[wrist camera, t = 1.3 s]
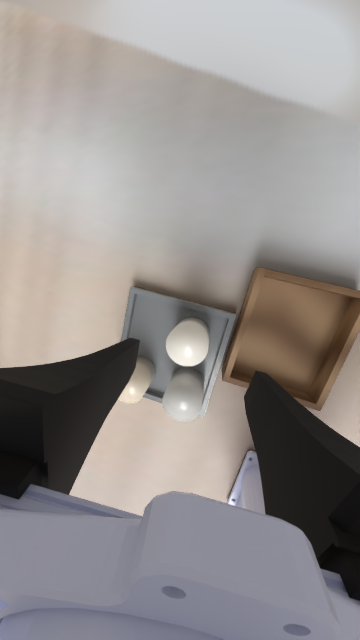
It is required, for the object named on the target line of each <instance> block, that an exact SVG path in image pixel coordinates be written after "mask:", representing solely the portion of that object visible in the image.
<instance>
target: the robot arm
mask: <svg viewBox="0 0 360 640" xmlns="http://www.w3.org/2000/svg"><path fill="white" fill-rule="evenodd" d="M139 344H140V340H138V339H134V338H128V339H126V340H124V341H121V342H119V343H117V344H115V345H112V346H110V347H108V348H105V349H103V350H100V351H97V352H95V353H92V354H89V355H86V356H82V357H79V358H75V359H71V360H66V361H61V362H56V363H50V364H44V365H36V366H27V367H13V368H0V640H360V447H358V446H357V445H355V444H354V443H352V442H351V441H349V440H348V439H346V438H345V437H343V436H342V435H340V434H339V433H337V432H336V431H334V430H333V429H332V428H330V427H329V426H328V425H326V424H325V423H324V422H322V421H321V420H320V419H318V418H317V417H316V416H314V415H313V414H312V413H311V412H310V411H308V410H307V409H306V408H305V407H304V406H303V405H301V404H300V403H299V402H298V401H297V400H296V399H295V398H293V397H292V396H291V395H290V394H289V393H288V392H287V391H286V390H285V389H284V388H283V387H282V386H280V385H279V384H278V383H277V382H276V381H275V380H274V379H273V378H272V377H270V376H269V375H268V374H267V373H264V372H260V371H255V373H254V376H253V378H252V380H251V383H250V385H249V387H248V389H247V392H246V394H245V396H244V400H245V409H246V415H247V419H248V423H249V427H250V431H251V434H252V438H253V442H254V446H255V450H256V452H255V451H251V450H250V451H248V452H247V454H246V457H245V459H244V462H243V464H242V467H241V469H240V472H239V474H238V477H237V479H236V482H235V484H234V487H233V489H232V491H231V494H230V496H229V499H228V501H227V503H223V502H220V501H216V500H213V499H209V498H206V497H202V496H199V495H195V494H192V493H184V492H175V491H172V492H168V493H164V494H161V495H157V496H156V497H154V498H153V499H152V500H151V502H150V503H149V504H148V505H147V506H146V507H145V510H144V514H143V517H142V516H139V515H136V514H132V513H129V512H125V511H122V510H118V509H115V508H112V507H108V506H105V505H101V504H98V503H95V502H91V501H88V500H84V499H81V498H77V497H74V496H71V495H69V493H70V491H71V489H72V486H73V484H74V482H75V480H76V478H77V476H78V473H79V471H80V469H81V467H82V465H83V463H84V461H85V459H86V457H87V455H88V453H89V450H90V448H91V446H92V444H93V442H94V440H95V438H96V436H97V434H98V432H99V430H100V428H101V427H102V425H103V423H104V421H105V419H106V417H107V415H108V414H109V412H110V410H111V409H112V407H113V406H114V404H115V403H116V401H117V399H118V398H119V396H120V395H121V393H122V392H123V390H124V389H125V387H126V385H127V384H128V382H129V380H130V378H131V376H132V374H133V372H134V370H135V368H136V362H137V356H138V350H139Z"/></svg>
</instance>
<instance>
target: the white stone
mask: <svg viewBox="0 0 360 640" xmlns="http://www.w3.org/2000/svg"><path fill="white" fill-rule="evenodd" d="M209 338H210V331H209V328H208V326H207V324H206V323H205V322H204V321H203V320H201V319H200V318H197V317H187V318H184V319H182V320H181V321H180V322H179V323H178V324H177V325H176V326H175V328H174V329H173V330H172V331H171V332H170V333H169V335H168V337H167V339H166V350H167V353H168V355H169V357H170V358H171V359H172V360H173V361H174V362H175V363H177V364H179V365H182V366H194V365H197V364H199V363H200V362H202V361H203V360H204V358H205V357H206V355H207V353H208V346H209Z"/></svg>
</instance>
